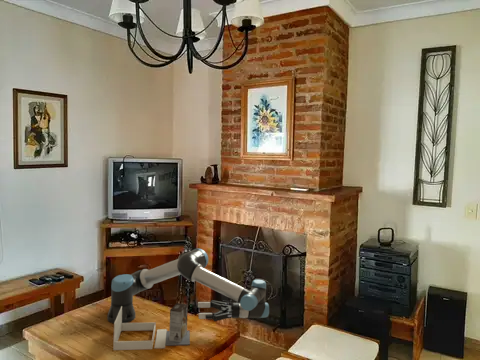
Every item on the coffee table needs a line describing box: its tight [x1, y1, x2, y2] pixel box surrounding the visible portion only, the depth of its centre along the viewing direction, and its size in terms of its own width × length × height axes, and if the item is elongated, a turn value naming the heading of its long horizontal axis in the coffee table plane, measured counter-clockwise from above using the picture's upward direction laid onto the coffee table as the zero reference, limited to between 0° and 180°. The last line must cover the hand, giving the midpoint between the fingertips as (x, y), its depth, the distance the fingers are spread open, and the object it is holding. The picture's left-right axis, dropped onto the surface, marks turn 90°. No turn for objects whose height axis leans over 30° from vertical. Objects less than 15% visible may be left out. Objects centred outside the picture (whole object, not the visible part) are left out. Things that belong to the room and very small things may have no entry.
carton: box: [112, 306, 168, 351], centre depth 188 cm, size 20×24×13 cm
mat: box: [165, 330, 191, 347], centre depth 191 cm, size 14×12×1 cm
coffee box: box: [169, 302, 189, 342], centre depth 190 cm, size 9×6×16 cm
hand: (198, 310), depth 192 cm, fingers open, 13 cm apart
